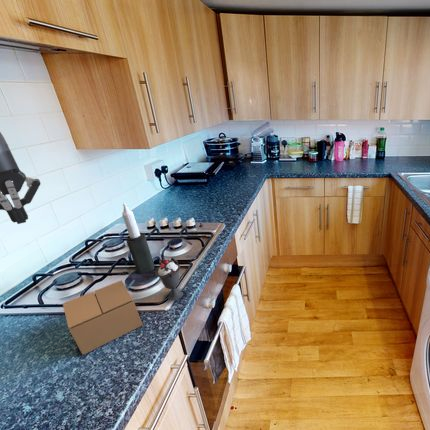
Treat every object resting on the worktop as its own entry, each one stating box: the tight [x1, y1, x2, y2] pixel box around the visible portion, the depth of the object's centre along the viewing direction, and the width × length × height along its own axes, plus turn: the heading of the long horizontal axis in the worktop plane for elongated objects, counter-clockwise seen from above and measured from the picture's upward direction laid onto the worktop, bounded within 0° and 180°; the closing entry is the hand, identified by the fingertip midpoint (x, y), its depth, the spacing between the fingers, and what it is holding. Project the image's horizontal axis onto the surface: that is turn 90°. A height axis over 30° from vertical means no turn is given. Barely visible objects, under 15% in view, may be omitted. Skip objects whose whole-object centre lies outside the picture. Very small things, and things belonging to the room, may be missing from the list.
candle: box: [122, 203, 155, 275], centre depth 94 cm, size 5×5×25 cm
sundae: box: [154, 257, 184, 302], centre depth 84 cm, size 7×7×15 cm
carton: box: [68, 279, 144, 356], centre depth 74 cm, size 13×11×9 cm
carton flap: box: [62, 291, 102, 329], centre depth 70 cm, size 6×11×1 cm, turn 45°
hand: (21, 222), depth 69 cm, fingers closed
